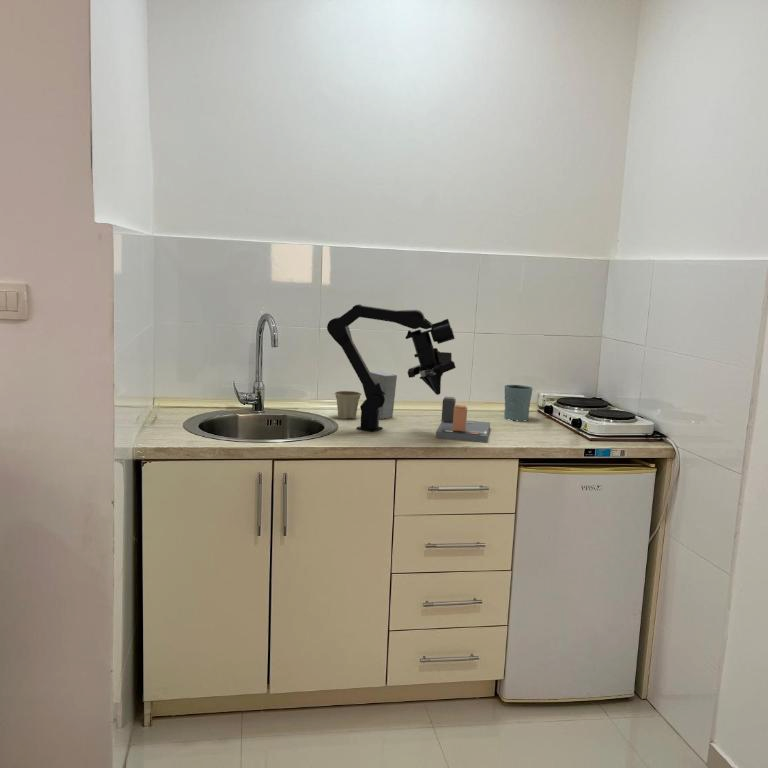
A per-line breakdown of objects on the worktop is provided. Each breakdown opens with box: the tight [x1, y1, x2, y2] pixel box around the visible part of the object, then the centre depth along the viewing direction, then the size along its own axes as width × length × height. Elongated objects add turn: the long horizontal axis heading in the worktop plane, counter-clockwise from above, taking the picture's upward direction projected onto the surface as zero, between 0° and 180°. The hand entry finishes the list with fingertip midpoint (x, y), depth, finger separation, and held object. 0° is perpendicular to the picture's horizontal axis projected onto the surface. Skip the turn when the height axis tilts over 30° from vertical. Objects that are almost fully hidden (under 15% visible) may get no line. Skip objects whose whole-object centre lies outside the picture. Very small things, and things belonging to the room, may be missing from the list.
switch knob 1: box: [441, 396, 457, 421], centre depth 259 cm, size 4×4×8 cm
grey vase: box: [370, 370, 398, 420], centre depth 270 cm, size 8×7×16 cm
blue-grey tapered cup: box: [503, 384, 533, 422], centre depth 279 cm, size 10×10×12 cm
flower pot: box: [333, 390, 362, 420], centre depth 267 cm, size 9×9×9 cm
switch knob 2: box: [452, 404, 468, 431], centre depth 245 cm, size 4×4×8 cm
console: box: [435, 419, 491, 443], centre depth 252 cm, size 16×22×2 cm
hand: (438, 394), depth 247 cm, fingers closed
